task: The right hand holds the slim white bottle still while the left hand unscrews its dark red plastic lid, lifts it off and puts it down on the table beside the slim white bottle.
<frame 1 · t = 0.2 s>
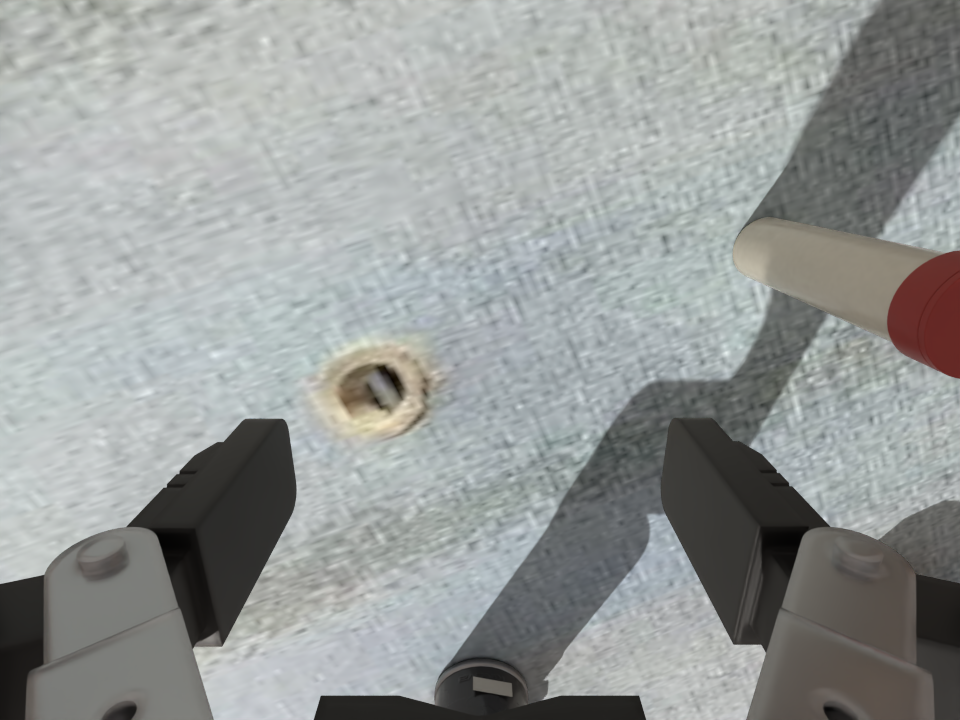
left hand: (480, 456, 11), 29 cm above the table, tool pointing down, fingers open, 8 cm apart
slim white bottle: (763, 248, 39), on the table
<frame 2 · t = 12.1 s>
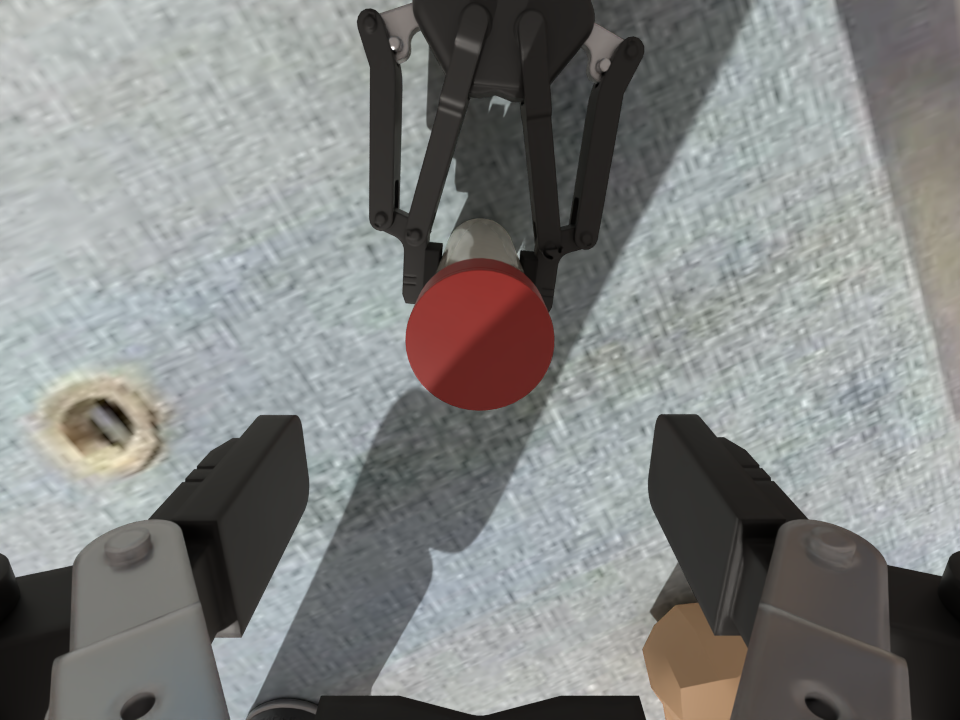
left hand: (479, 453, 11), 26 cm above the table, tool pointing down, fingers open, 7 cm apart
right hand: (471, 360, 31), fingers closed on slim white bottle, 4 cm apart
squash: (709, 661, 48), on the table
lid: (480, 340, 18), point 18 cm above the table, screwed on, not yet turned
slim white bottle: (480, 252, 35), on the table, touching right hand
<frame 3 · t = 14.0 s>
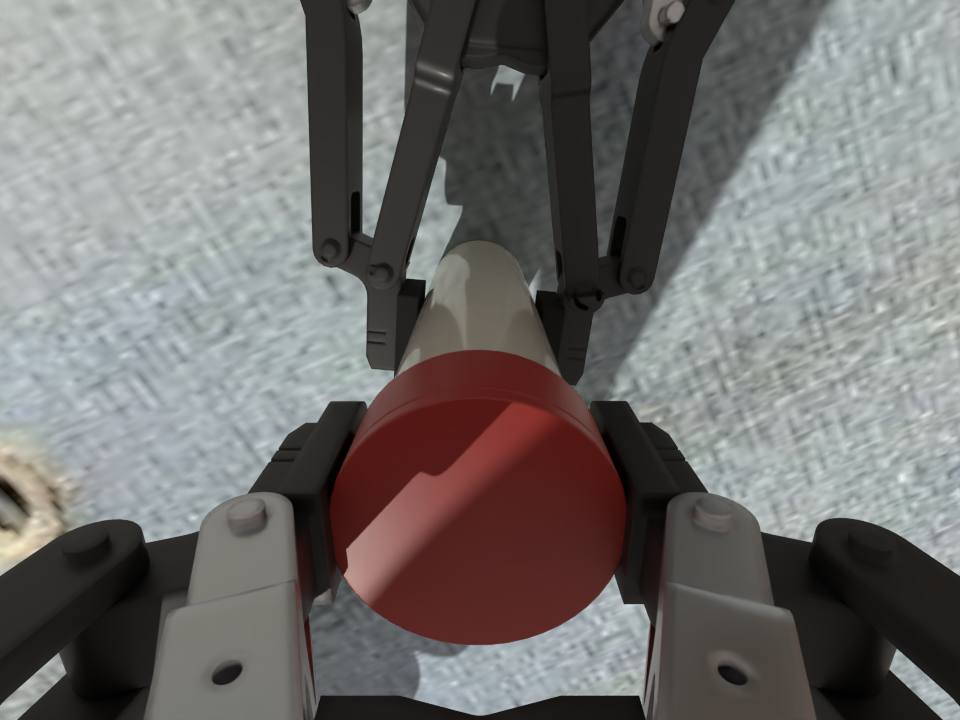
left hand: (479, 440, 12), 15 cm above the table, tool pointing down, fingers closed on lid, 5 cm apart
right hand: (467, 444, 22), fingers closed on slim white bottle, 4 cm apart
lid: (478, 520, 9), point 18 cm above the table, screwed on, not yet turned, touching left hand
slim white bottle: (479, 286, 26), on the table, touching right hand
when the left hand's fingers open (15 cm above the table, at t = 15.6 s): lid stays where it is, point 18 cm above the table.
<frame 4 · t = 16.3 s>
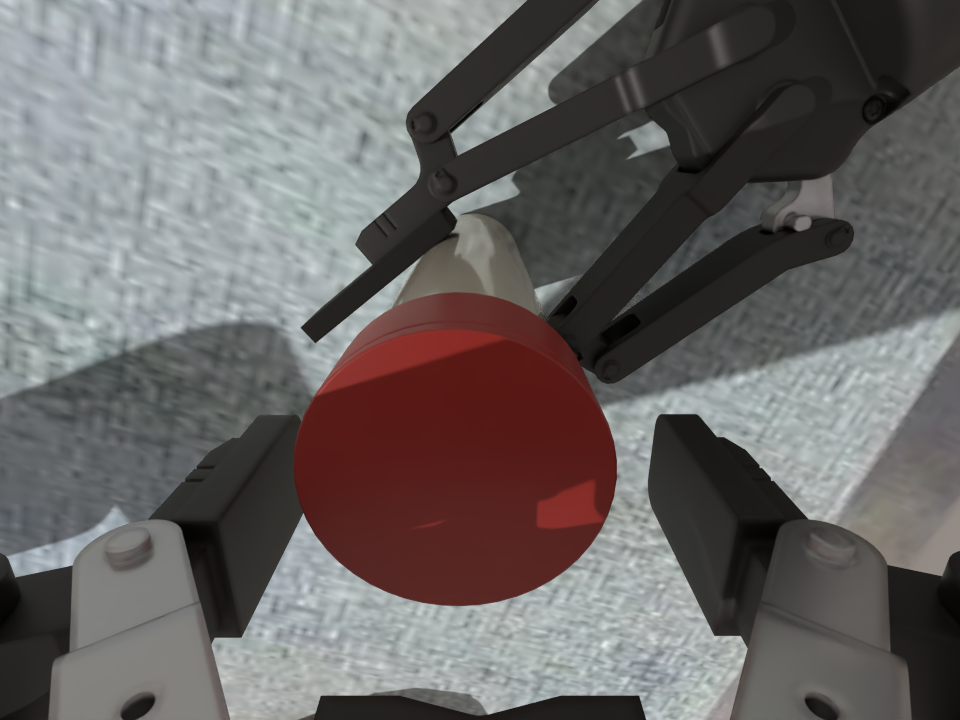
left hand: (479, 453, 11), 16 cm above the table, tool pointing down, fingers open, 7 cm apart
right hand: (365, 372, 21), fingers closed on slim white bottle, 4 cm apart
lid: (456, 470, 9), point 18 cm above the table, turned 87° so far, risen 0.2 cm, still on its thread
slim white bottle: (472, 261, 26), on the table, touching right hand
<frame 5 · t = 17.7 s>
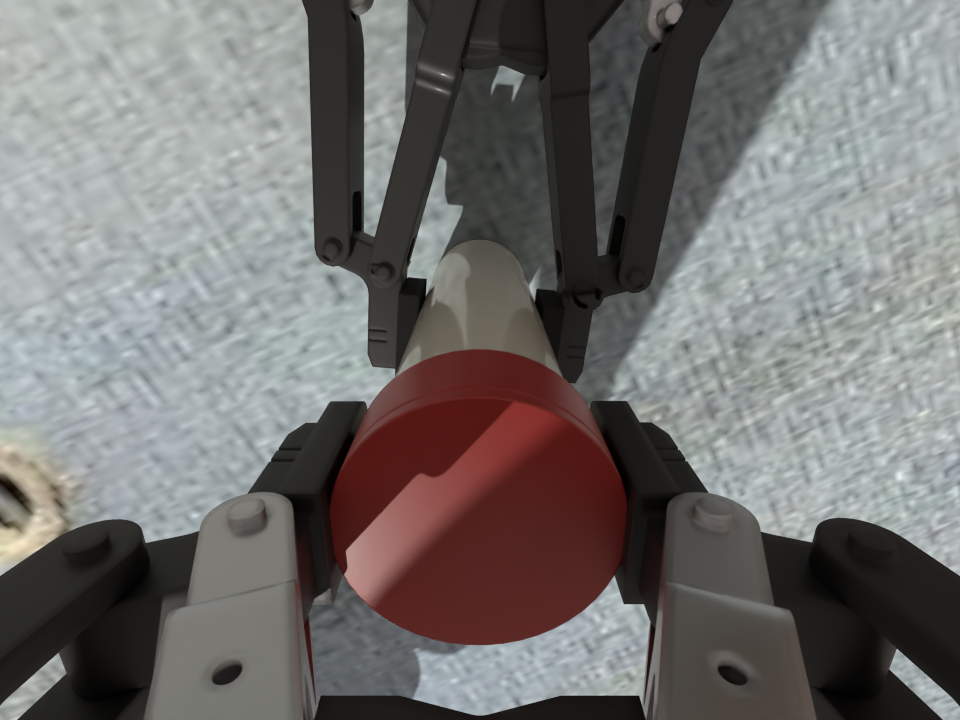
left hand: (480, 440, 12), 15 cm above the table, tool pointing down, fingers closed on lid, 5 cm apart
right hand: (467, 441, 23), fingers closed on slim white bottle, 4 cm apart
lid: (478, 520, 9), point 18 cm above the table, turned 87° so far, risen 0.2 cm, still on its thread, touching left hand
slim white bottle: (479, 285, 26), on the table, touching right hand
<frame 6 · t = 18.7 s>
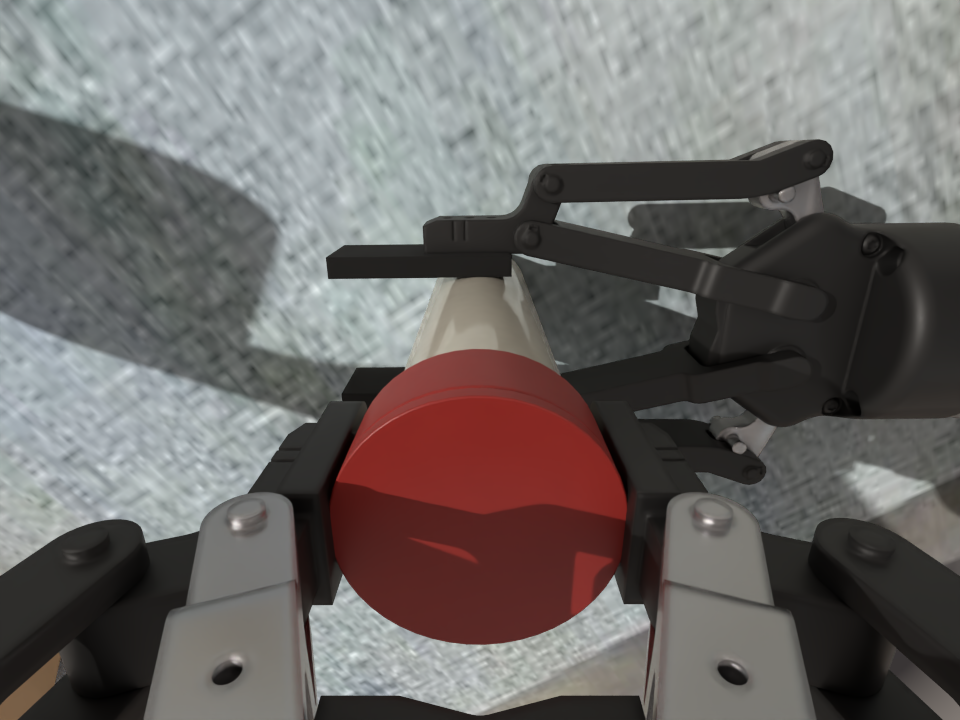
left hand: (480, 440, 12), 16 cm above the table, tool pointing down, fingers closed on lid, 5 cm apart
right hand: (345, 327, 21), fingers closed on slim white bottle, 4 cm apart
lid: (478, 520, 9), point 19 cm above the table, off its thread, touching left hand, slim white bottle
slim white bottle: (480, 291, 27), on the table, touching right hand, lid
when the left hand's fingers open (1 cm above the table, at t = 24.5 s): lid drops 2 cm, point 2 cm above the table.
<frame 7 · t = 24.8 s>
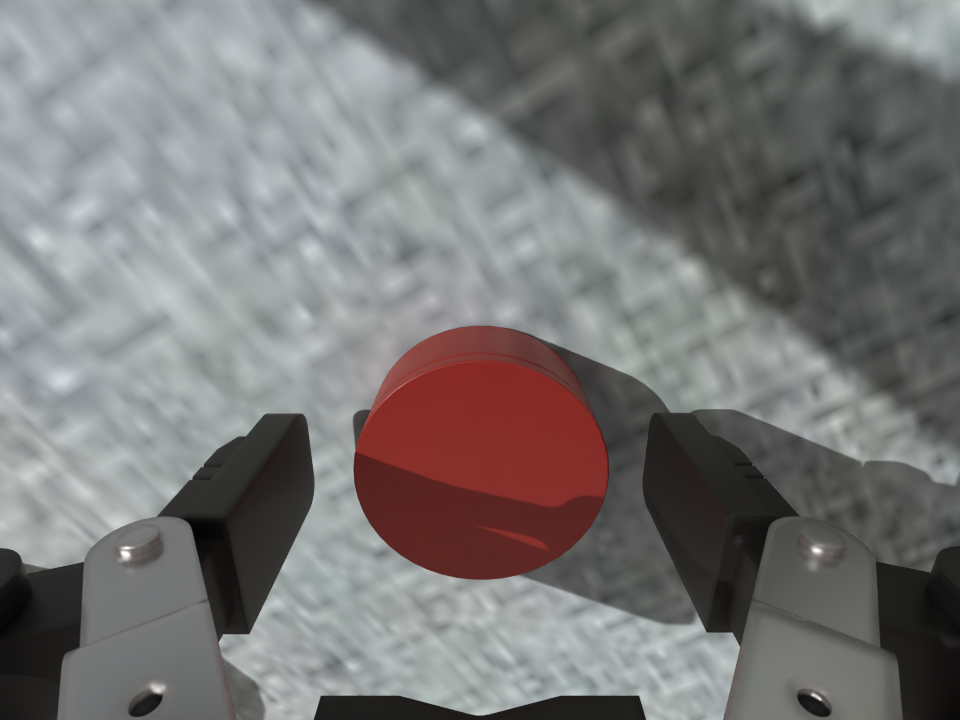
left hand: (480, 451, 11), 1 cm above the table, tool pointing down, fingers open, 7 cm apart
lid: (481, 470, 11), point 2 cm above the table, off its thread
when the right hand's fingers open (6 cm above the table, at t = 25.4 s): slim white bottle stays where it is, on the table.
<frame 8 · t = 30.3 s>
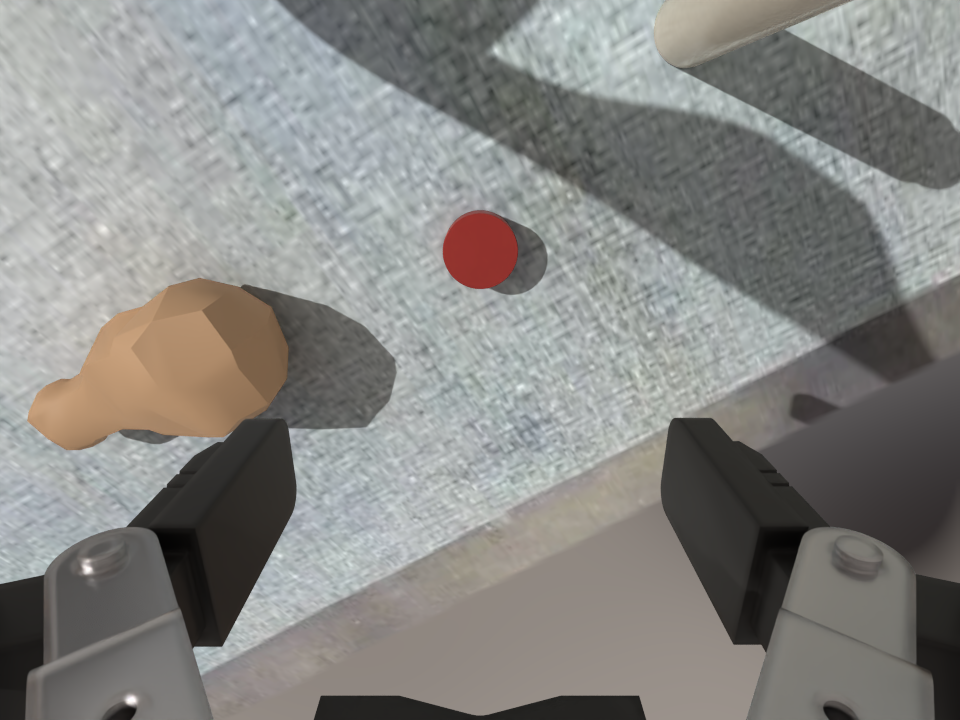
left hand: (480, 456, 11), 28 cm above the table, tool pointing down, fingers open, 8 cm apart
squash: (186, 364, 41), on the table
lid: (480, 251, 36), point 2 cm above the table, off its thread
slim white bottle: (689, 27, 33), on the table
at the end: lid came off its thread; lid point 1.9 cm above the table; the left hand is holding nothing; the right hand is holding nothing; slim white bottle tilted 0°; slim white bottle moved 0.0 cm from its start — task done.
